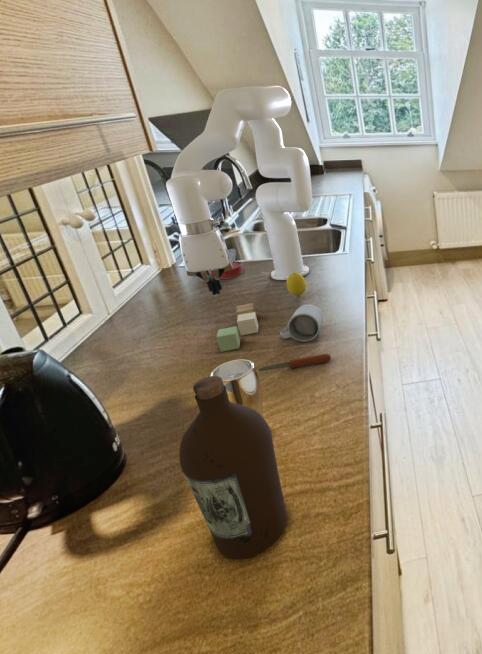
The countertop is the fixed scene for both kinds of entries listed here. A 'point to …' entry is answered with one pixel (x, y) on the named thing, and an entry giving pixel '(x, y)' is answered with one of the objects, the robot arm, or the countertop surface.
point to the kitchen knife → (299, 362)
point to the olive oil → (233, 472)
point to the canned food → (235, 270)
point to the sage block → (228, 338)
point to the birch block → (245, 309)
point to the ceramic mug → (304, 324)
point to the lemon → (296, 284)
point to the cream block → (247, 323)
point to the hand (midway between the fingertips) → (217, 292)
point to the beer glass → (241, 383)
